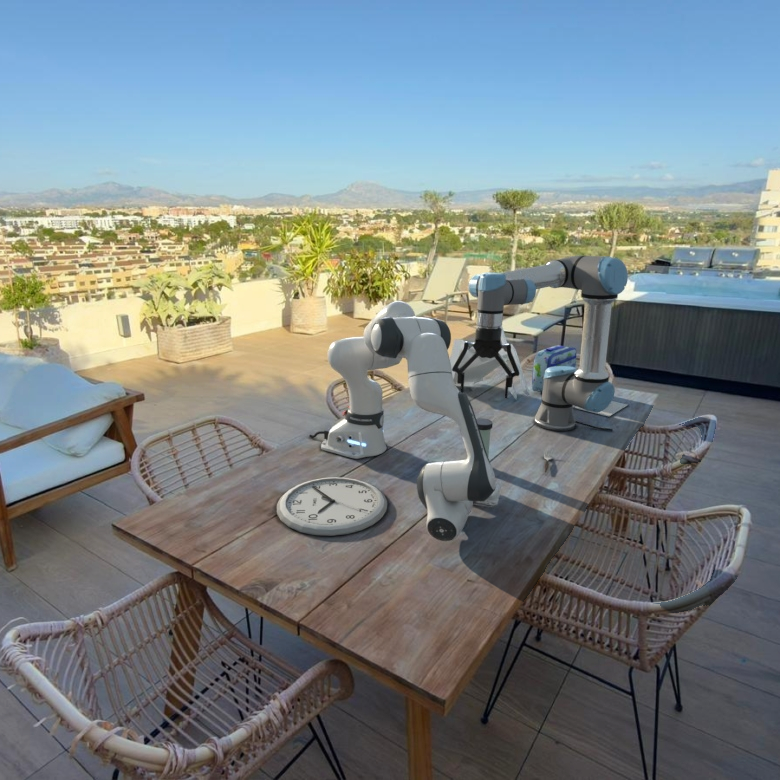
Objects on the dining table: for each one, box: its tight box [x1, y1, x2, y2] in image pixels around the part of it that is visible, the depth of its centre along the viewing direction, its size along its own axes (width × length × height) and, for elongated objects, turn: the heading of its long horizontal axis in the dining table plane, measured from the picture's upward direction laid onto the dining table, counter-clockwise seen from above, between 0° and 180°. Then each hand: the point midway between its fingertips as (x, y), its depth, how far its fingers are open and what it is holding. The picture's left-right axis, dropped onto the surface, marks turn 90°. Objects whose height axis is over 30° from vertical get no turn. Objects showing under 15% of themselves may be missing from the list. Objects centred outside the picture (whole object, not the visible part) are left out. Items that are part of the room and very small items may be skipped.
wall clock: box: [276, 476, 388, 537], centre depth 142 cm, size 30×2×30 cm
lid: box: [476, 417, 493, 431], centre depth 163 cm, size 6×6×2 cm
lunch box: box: [531, 345, 577, 394], centre depth 245 cm, size 26×11×21 cm, turn 134°
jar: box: [480, 429, 491, 457], centre depth 165 cm, size 5×5×15 cm
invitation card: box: [573, 400, 629, 418], centre depth 226 cm, size 21×1×15 cm
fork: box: [543, 448, 554, 473], centre depth 170 cm, size 3×16×2 cm, turn 160°
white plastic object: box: [449, 325, 531, 400], centre depth 245 cm, size 37×45×31 cm
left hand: (467, 476), depth 148 cm, fingers open, 8 cm apart
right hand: (483, 395), depth 161 cm, fingers open, 13 cm apart
